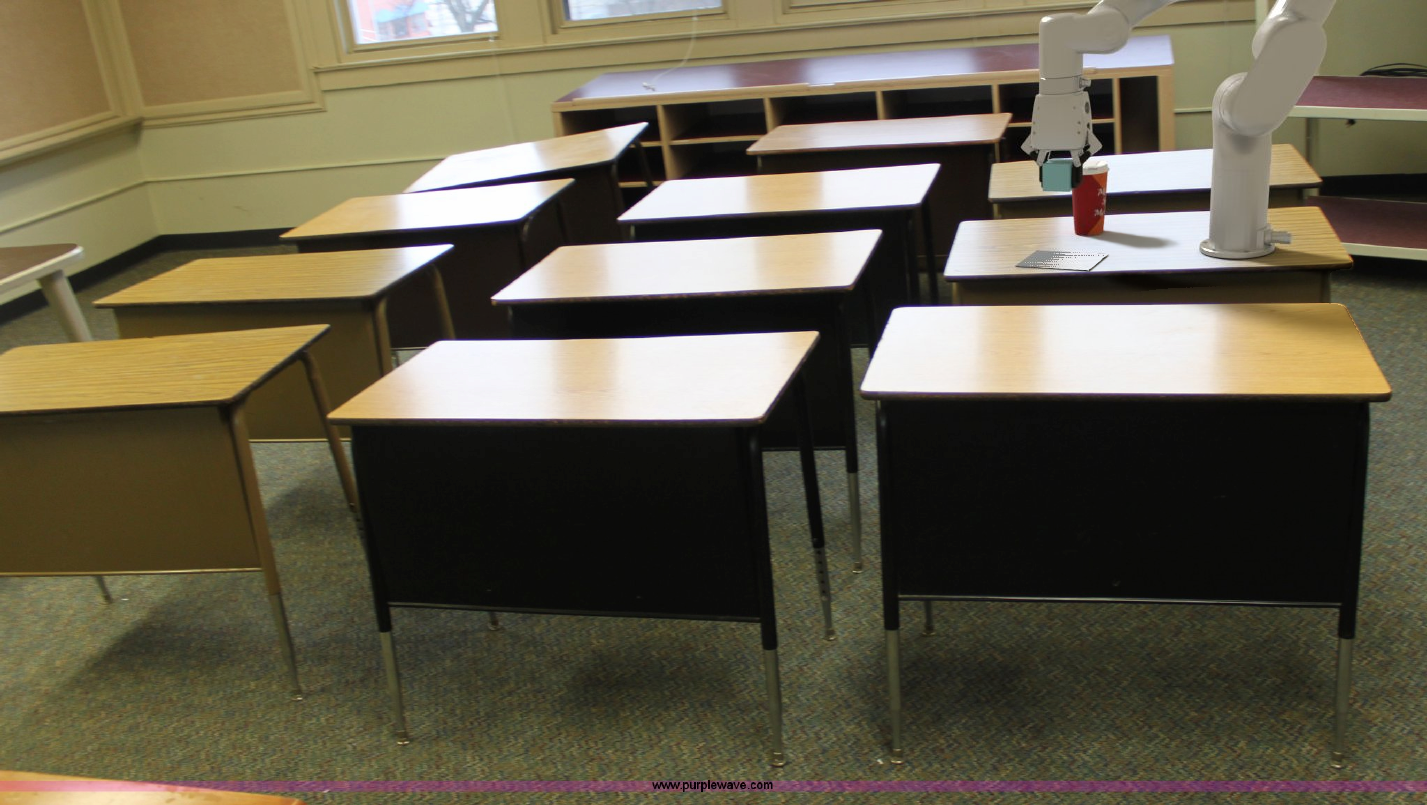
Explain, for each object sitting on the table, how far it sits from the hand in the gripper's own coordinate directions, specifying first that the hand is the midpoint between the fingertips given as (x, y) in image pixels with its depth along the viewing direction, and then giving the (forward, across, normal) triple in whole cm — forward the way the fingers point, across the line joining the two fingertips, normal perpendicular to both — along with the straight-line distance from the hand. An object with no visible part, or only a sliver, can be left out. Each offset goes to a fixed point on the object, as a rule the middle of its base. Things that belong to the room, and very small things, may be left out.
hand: (1060, 185), depth 209 cm
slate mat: (+14, 0, 0) cm, 14 cm away
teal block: (+1, 0, 0) cm, 1 cm away
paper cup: (+15, +2, -21) cm, 26 cm away
